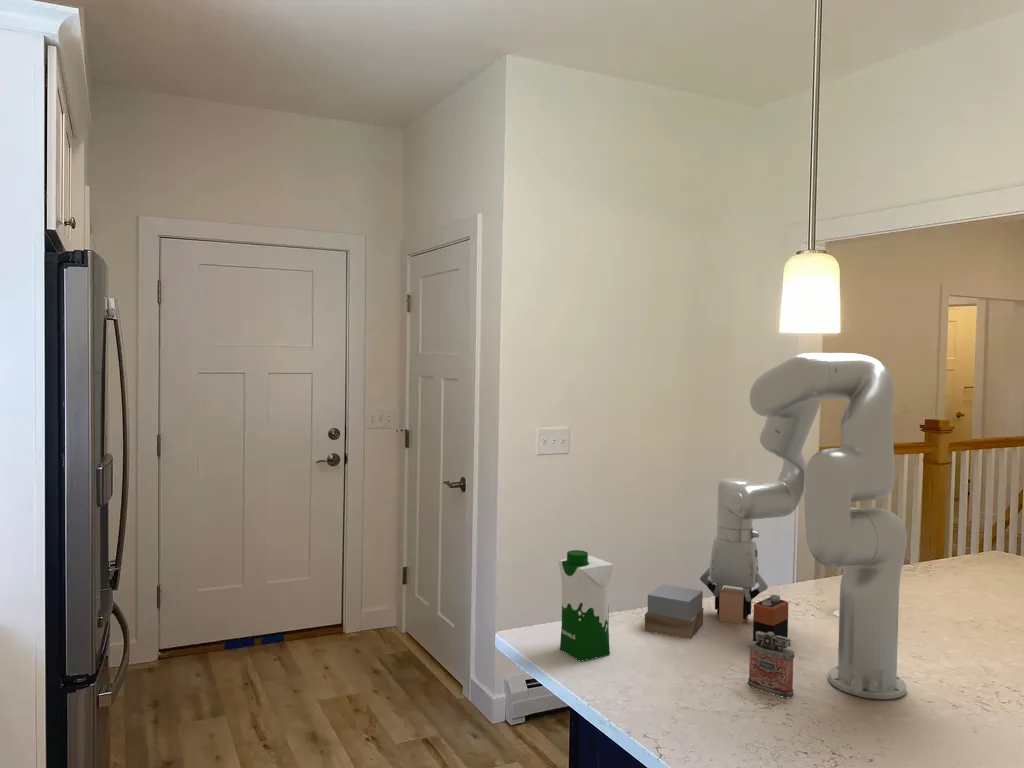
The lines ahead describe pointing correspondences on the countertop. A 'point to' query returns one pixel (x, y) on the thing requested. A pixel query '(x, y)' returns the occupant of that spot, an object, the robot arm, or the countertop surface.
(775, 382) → the robot arm
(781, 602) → the battery
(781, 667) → the lighter
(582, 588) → the milk carton
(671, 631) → the tower base
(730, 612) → the pillar block
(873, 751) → the countertop surface
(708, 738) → the countertop surface
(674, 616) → the tower top
